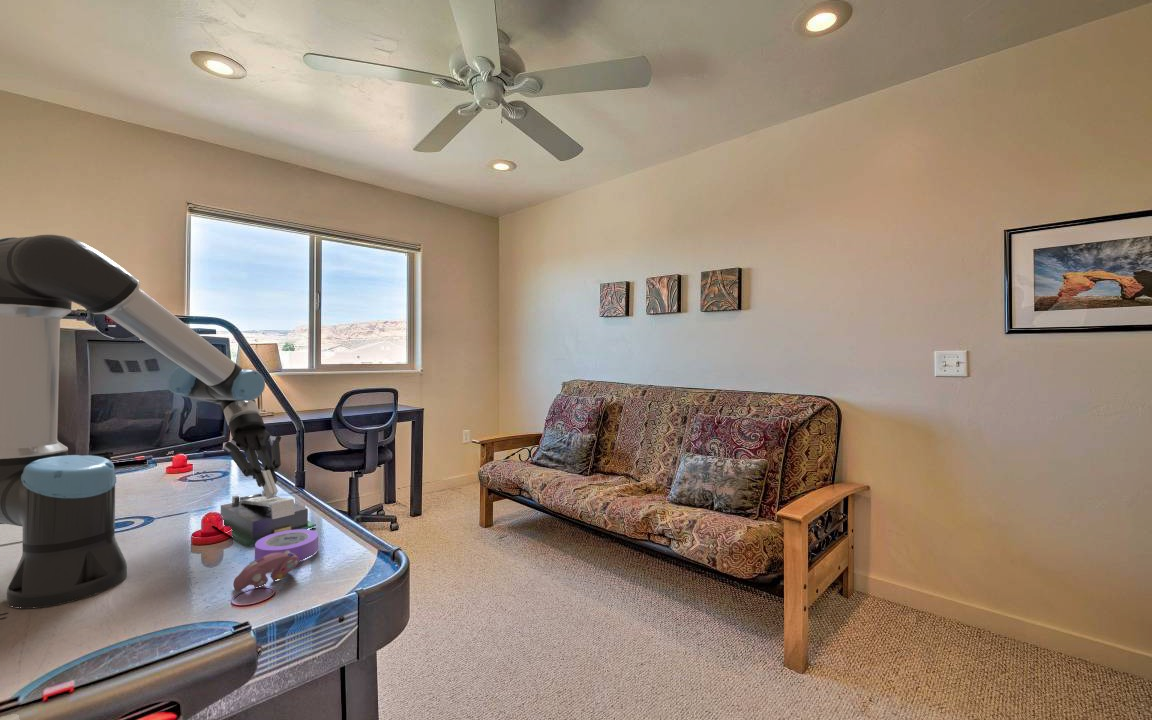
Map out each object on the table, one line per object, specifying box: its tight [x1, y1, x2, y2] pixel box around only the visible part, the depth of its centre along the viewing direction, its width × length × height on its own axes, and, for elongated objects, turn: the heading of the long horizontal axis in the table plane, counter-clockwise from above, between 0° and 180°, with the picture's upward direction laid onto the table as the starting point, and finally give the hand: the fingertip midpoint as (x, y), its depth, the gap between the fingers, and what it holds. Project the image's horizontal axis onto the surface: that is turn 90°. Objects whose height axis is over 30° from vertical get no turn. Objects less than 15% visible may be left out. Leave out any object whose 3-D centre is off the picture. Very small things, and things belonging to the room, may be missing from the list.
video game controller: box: [232, 550, 299, 592], centre depth 91 cm, size 10×5×7 cm, turn 149°
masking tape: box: [254, 529, 319, 561], centre depth 104 cm, size 12×12×4 cm
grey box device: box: [220, 489, 317, 547], centre depth 121 cm, size 22×15×7 cm
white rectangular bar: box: [239, 493, 295, 519], centre depth 120 cm, size 20×5×4 cm, turn 53°
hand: (272, 495), depth 118 cm, fingers closed
